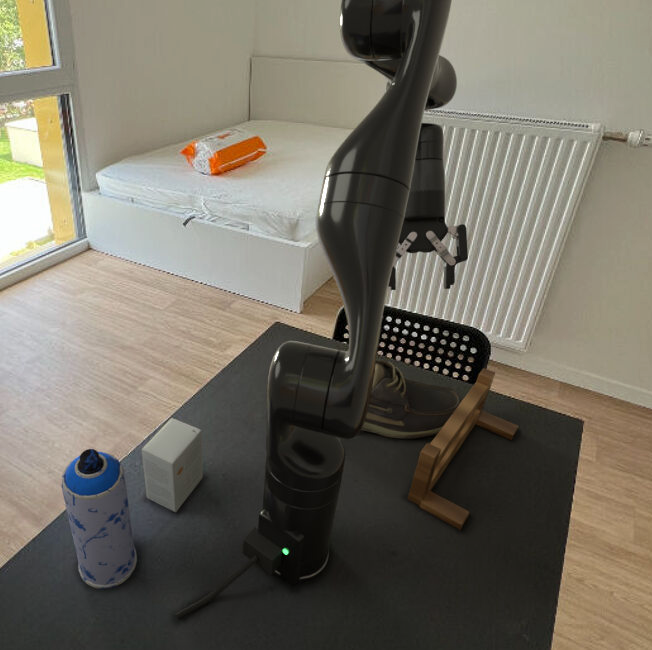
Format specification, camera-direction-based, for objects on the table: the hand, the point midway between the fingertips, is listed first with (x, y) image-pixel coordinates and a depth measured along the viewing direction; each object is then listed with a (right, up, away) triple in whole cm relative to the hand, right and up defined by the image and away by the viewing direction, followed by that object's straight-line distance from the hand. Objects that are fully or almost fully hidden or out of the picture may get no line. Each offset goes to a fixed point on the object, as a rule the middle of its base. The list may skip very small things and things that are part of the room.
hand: (419, 289), depth 90 cm
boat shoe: (-6, -23, +6) cm, 25 cm away
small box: (-41, -32, -7) cm, 52 cm away
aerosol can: (-49, -38, -17) cm, 65 cm away
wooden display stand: (+6, -29, -3) cm, 29 cm away
